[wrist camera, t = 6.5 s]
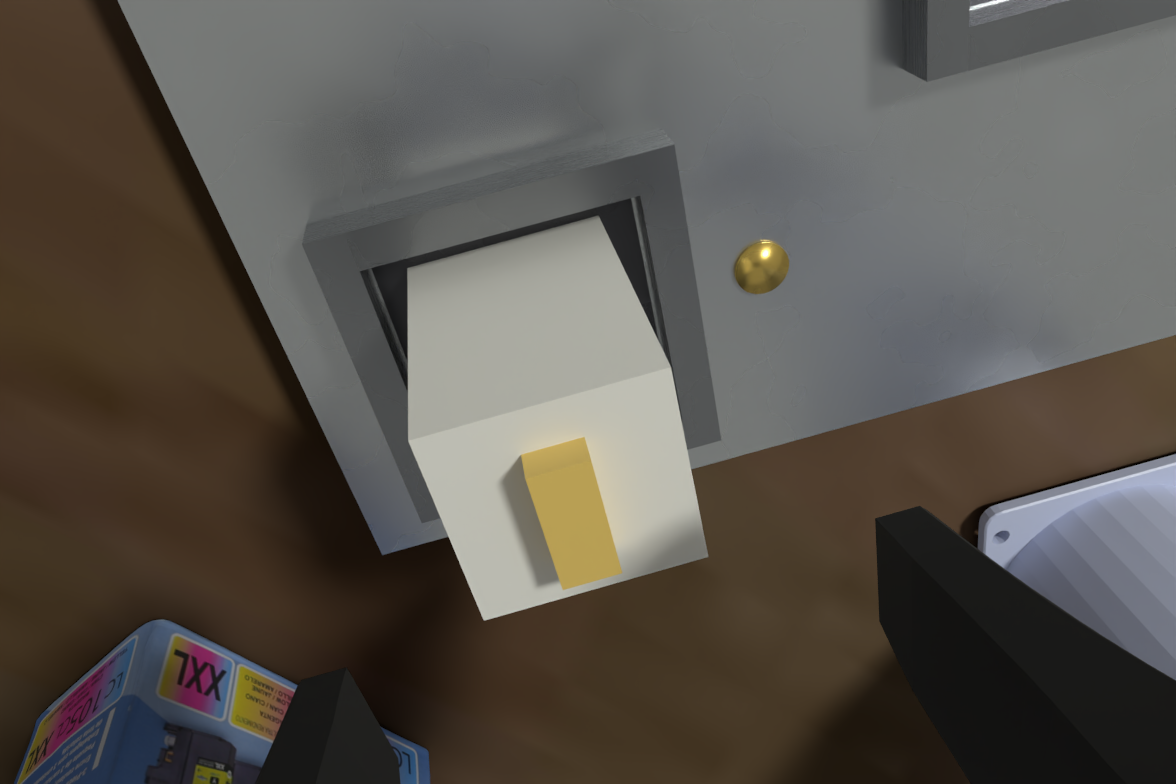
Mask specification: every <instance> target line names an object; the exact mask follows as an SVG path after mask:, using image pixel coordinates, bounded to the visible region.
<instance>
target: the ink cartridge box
mask: <svg viewBox="0 0 1176 784" xmlns="http://www.w3.org/2000/svg"><path fill="white" fill-rule="evenodd" d="M297 686H298V685H297V684H295V683H293V682H291V681H289V680H287V679H285V678H283V677H281V676H279V675H277V674H275V673H273V672H271V671H269V670H267V669H265V668H263V667H261V666H259V665H257V664H255V663H253V662H251V661H249V660H247V659H245V658H243V657H241V656H239V655H238V654H236V653H234V652H232V651H230V650H228V649H226V648H224V647H222V646H220V645H218V644H216V643H214V642H212V641H210V640H208V639H206V638H204V637H202V636H200V635H198V634H196V633H194V632H192V631H190V630H188V629H186V628H184V627H182V626H180V625H178V624H176V623H173V622H171V621H169V620H165V619H162V620H154V621H150V622H148V623H146V624H144V625H142V626H141V627H139V628H138V629H137V630H136V631H134V632H133V633H132V634H131V635H129V636H128V637H127V638H126V639H125V640H124V641H122V642H121V643H120V644H119V645H118V646H116V647H115V648H114V649H113V650H112V651H111V652H110V653H109V654H107V655H106V656H105V657H104V658H103V659H102V660H101V661H100V662H99V663H98V664H97V665H95V666H94V667H93V668H92V669H91V670H90V671H88V672H87V673H86V674H85V675H84V676H83V677H82V678H80V679H79V680H78V681H77V682H76V683H75V684H74V685H73V686H72V687H71V688H69V689H68V690H67V691H66V692H65V693H64V694H63V695H62V696H61V697H59V698H58V699H57V700H56V701H55V702H54V703H53V704H51V705H50V706H49V707H48V708H47V709H46V710H45V711H44V712H43V713H42V714H41V715H40V717H39V718H38V719H37V720H36V724H35V728H34V731H33V734H32V737H31V740H30V743H29V746H28V748H27V751H26V753H25V756H24V759H23V761H22V764H21V766H20V769H19V772H18V774H17V777H16V779H15V782H14V784H255V782H256V780H257V777H258V775H259V773H260V771H261V768H262V766H263V764H264V762H265V760H266V757H267V755H268V753H269V750H270V748H271V746H272V744H273V741H274V739H275V737H276V734H277V732H278V730H279V727H280V725H281V723H282V720H283V718H284V716H285V713H286V711H287V709H288V706H289V704H290V702H291V699H292V697H293V695H294V693H295V690H296V688H297ZM381 729H382V730H383V732H384V734H385V736H386V737H387V739H388V741H389V743H390V744H391V746H392V748H393V750H394V751H395V753H396V755H397V757H398V761H399V772H400V783H401V784H430V770H429V752H428V750H427V749H426V748H424V747H421V746H419V745H417V744H415V743H413V742H411V741H408V740H406V739H404V738H402V737H400V736H398V735H396V734H394V733H392V732H390V731H388V730H386V729H384V728H382V727H381Z"/></svg>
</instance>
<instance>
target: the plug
mask: <svg viewBox="0 0 1176 784" xmlns="http://www.w3.org/2000/svg"><path fill="white" fill-rule="evenodd" d="M407 280H408V442H409V444H410V446H411V449H412V451H413V454H414V456H415V458H416V461H417V463H418V465H419V468H420V470H421V473H422V475H423V477H424V480H425V482H426V484H427V487H428V489H429V492H430V494H431V496H432V499H433V501H434V503H435V506H436V508H437V511H438V513H439V515H440V518H441V520H442V522H443V525H444V527H445V530H446V532H447V534H448V537H449V539H450V541H451V544H452V546H453V549H454V551H455V553H456V556H457V558H458V560H459V563H460V565H461V568H462V570H463V572H464V575H465V577H466V579H467V582H468V584H469V587H470V589H471V591H472V594H473V596H474V598H475V601H476V603H477V606H478V608H479V610H480V613H481V615H482V617H483V620H484V621H485V620H488V619H492V618H495V617H499V616H502V615H506V614H509V613H513V612H516V611H520V610H523V609H527V608H530V607H534V606H537V605H541V604H544V603H548V602H551V601H555V600H558V599H562V598H565V597H569V596H572V595H576V594H579V593H583V592H586V591H590V590H594V589H597V588H601V587H604V586H608V585H611V584H615V583H618V582H622V581H625V580H629V579H632V578H636V577H639V576H643V575H646V574H650V573H653V572H657V571H660V570H664V569H667V568H671V567H674V566H678V565H681V564H685V563H688V562H692V561H695V560H699V559H702V558H706V557H708V553H707V548H706V543H705V538H704V533H703V528H702V523H701V518H700V512H699V507H698V502H697V497H696V492H695V487H694V482H693V477H692V472H691V467H690V462H689V456H688V451H687V446H686V441H685V436H684V431H683V426H682V421H681V416H680V411H679V405H678V400H677V395H676V390H675V385H674V380H673V375H672V370H671V366H670V364H669V362H668V360H667V358H666V356H665V354H664V351H663V349H662V347H661V345H660V343H659V341H658V339H657V337H656V335H655V333H654V331H653V328H652V326H651V324H650V322H649V320H648V318H647V316H646V314H645V312H644V310H643V308H642V305H641V303H640V301H639V299H638V297H637V295H636V293H635V291H634V289H633V287H632V285H631V282H630V280H629V278H628V276H627V274H626V272H625V270H624V268H623V266H622V264H621V261H620V259H619V257H618V255H617V253H616V251H615V249H614V247H613V245H612V243H611V241H610V238H609V236H608V234H607V232H606V230H605V228H604V226H603V224H602V222H601V220H600V218H599V215H598V216H594V217H591V218H587V219H584V220H580V221H576V222H573V223H569V224H565V225H562V226H558V227H555V228H551V229H547V230H544V231H540V232H536V233H533V234H529V235H526V236H522V237H518V238H515V239H511V240H507V241H504V242H500V243H497V244H493V245H489V246H486V247H482V248H478V249H475V250H471V251H468V252H464V253H460V254H457V255H453V256H449V257H446V258H442V259H439V260H435V261H431V262H428V263H424V264H420V265H417V266H413V267H410V268H407Z"/></svg>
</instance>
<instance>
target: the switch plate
mask: <svg viewBox="0 0 1176 784" xmlns="http://www.w3.org/2000/svg"><path fill="white" fill-rule="evenodd" d="M118 2H119V5H120V7H121V9H122V11H123V13H124V15H125V17H126V19H127V21H128V23H129V26H130V28H131V30H132V32H133V34H134V36H135V38H136V40H137V42H138V44H139V46H140V49H141V51H142V53H143V55H144V57H145V59H146V61H147V63H148V65H149V67H150V69H151V72H152V74H153V76H154V78H155V80H156V82H157V84H158V86H159V88H160V90H161V93H162V95H163V97H164V99H165V101H166V103H167V105H168V107H169V109H170V111H171V113H172V116H173V118H174V120H175V122H176V124H177V126H178V128H179V130H180V132H181V134H182V137H183V139H184V141H185V143H186V145H187V147H188V149H189V151H190V153H191V155H192V157H193V160H194V162H195V164H196V166H197V168H198V170H199V172H200V174H201V176H202V178H203V181H204V183H205V185H206V187H207V189H208V191H209V193H210V195H211V197H212V199H213V201H214V204H215V206H216V208H217V210H218V212H219V214H220V216H221V218H222V220H223V222H224V224H225V227H226V229H227V231H228V233H229V235H230V237H231V239H232V241H233V243H234V245H235V248H236V250H237V252H238V254H239V256H240V258H241V260H242V262H243V264H244V266H245V268H246V271H247V273H248V275H249V277H250V279H251V281H252V283H253V285H254V287H255V289H256V292H257V294H258V296H259V298H260V300H261V302H262V304H263V306H264V308H265V310H266V312H267V315H268V317H269V319H270V321H271V323H272V325H273V327H274V329H275V331H276V333H277V336H278V338H279V340H280V342H281V344H282V346H283V348H284V350H285V352H286V354H287V356H288V359H289V361H290V363H291V365H292V367H293V369H294V371H295V373H296V375H297V377H298V379H299V382H300V384H301V386H302V388H303V390H304V392H305V394H306V396H307V398H308V400H309V403H310V405H311V407H312V409H313V411H314V413H315V415H316V417H317V419H318V421H319V423H320V426H321V428H322V430H323V432H324V434H325V436H326V438H327V440H328V442H329V444H330V447H331V449H332V451H333V453H334V455H335V457H336V459H337V461H338V463H339V465H340V467H341V470H342V472H343V474H344V476H345V478H346V480H347V482H348V484H349V486H350V488H351V491H352V493H353V495H354V497H355V499H356V501H357V503H358V505H359V507H360V509H361V511H362V514H363V516H364V518H365V520H366V522H367V524H368V526H369V528H370V530H371V532H372V534H373V537H374V539H375V541H376V543H377V545H378V547H379V549H380V551H381V553H382V555H384V554H388V553H391V552H395V551H399V550H402V549H406V548H409V547H413V546H417V545H420V544H424V543H427V542H431V541H435V540H438V539H442V538H445V537H448V534H447V532H446V530H445V527H444V525H443V522H442V520H441V518H440V515H439V513H438V511H437V508H436V506H435V503H434V501H433V499H432V496H431V494H430V492H429V489H428V487H427V484H426V482H425V480H424V477H423V475H422V473H421V470H420V468H419V465H418V463H417V461H416V458H415V456H414V454H413V451H412V449H411V446H410V444H409V442H408V280H407V268H410V267H413V266H417V265H420V264H424V263H428V262H431V261H435V260H439V259H442V258H446V257H449V256H453V255H457V254H460V253H464V252H468V251H471V250H475V249H478V248H482V247H486V246H489V245H493V244H497V243H500V242H504V241H507V240H511V239H515V238H518V237H522V236H526V235H529V234H533V233H536V232H540V231H544V230H547V229H551V228H555V227H558V226H562V225H565V224H569V223H573V222H576V221H580V220H584V219H587V218H591V217H594V216H598V215H599V218H600V220H601V222H602V224H603V226H604V228H605V230H606V232H607V234H608V236H609V238H610V241H611V243H612V245H613V247H614V249H615V251H616V253H617V255H618V257H619V259H620V261H621V264H622V266H623V268H624V270H625V272H626V274H627V276H628V278H629V280H630V282H631V285H632V287H633V289H634V291H635V293H636V295H637V297H638V299H639V301H640V303H641V305H642V308H643V310H644V312H645V314H646V316H647V318H648V320H649V322H650V324H651V326H652V328H653V331H654V333H655V335H656V337H657V339H658V341H659V343H660V345H661V347H662V349H663V351H664V354H665V356H666V358H667V360H668V362H669V364H670V366H671V370H672V375H673V380H674V385H675V390H676V395H677V400H678V405H679V411H680V416H681V421H682V426H683V431H684V436H685V441H686V446H687V451H688V456H689V462H690V467H691V469H694V468H698V467H701V466H705V465H708V464H712V463H716V462H719V461H723V460H726V459H730V458H734V457H737V456H741V455H744V454H748V453H752V452H755V451H759V450H762V449H766V448H770V447H773V446H777V445H780V444H784V443H788V442H791V441H795V440H798V439H802V438H806V437H809V436H813V435H816V434H820V433H824V432H827V431H831V430H834V429H838V428H842V427H845V426H849V425H853V424H856V423H860V422H863V421H867V420H871V419H874V418H878V417H881V416H885V415H889V414H892V413H896V412H899V411H903V410H907V409H910V408H914V407H917V406H921V405H925V404H928V403H932V402H935V401H939V400H943V399H946V398H950V397H953V396H957V395H961V394H964V393H968V392H971V391H975V390H979V389H982V388H986V387H989V386H993V385H997V384H1000V383H1004V382H1007V381H1011V380H1015V379H1018V378H1022V377H1025V376H1029V375H1033V374H1036V373H1040V372H1043V371H1047V370H1051V369H1054V368H1058V367H1061V366H1065V365H1069V364H1072V363H1076V362H1079V361H1083V360H1087V359H1090V358H1094V357H1097V356H1101V355H1105V354H1108V353H1112V352H1115V351H1119V350H1123V349H1126V348H1130V347H1133V346H1137V345H1141V344H1144V343H1148V342H1151V341H1155V340H1159V339H1162V338H1166V337H1169V336H1173V335H1176V0H118Z"/></svg>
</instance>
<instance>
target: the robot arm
mask: <svg viewBox="0 0 1176 784" xmlns="http://www.w3.org/2000/svg"><path fill="white" fill-rule="evenodd" d="M875 521H876V546H877V570H878V595H879V620H880V623H881V625H882V627H883V630H884V632H885V634H886V636H887V638H888V640H889V642H890V645H891V647H892V649H893V651H894V653H895V655H896V657H897V659H898V661H899V664H900V666H901V668H902V670H903V672H904V674H905V676H906V678H907V680H908V682H909V684H910V686H911V688H912V690H913V692H914V693H915V695H916V697H917V698H918V700H919V701H920V703H921V705H922V706H923V708H924V710H925V711H926V713H927V714H928V716H929V718H930V719H931V721H932V722H933V724H934V726H935V727H936V729H937V730H938V732H939V734H940V735H941V737H942V738H943V740H944V742H945V743H946V745H947V746H948V748H949V750H950V751H951V753H952V754H953V756H954V758H955V759H956V761H957V762H958V764H959V765H960V767H961V769H962V770H963V772H964V773H965V775H966V777H967V778H968V780H969V781H970V783H971V784H1176V454H1174V455H1170V456H1167V457H1163V458H1160V459H1156V460H1152V461H1149V462H1145V463H1142V464H1138V465H1135V466H1131V467H1128V468H1124V469H1120V470H1117V471H1113V472H1110V473H1106V474H1103V475H1099V476H1096V477H1092V478H1088V479H1085V480H1081V481H1078V482H1074V483H1071V484H1067V485H1064V486H1060V487H1056V488H1053V489H1049V490H1046V491H1042V492H1039V493H1035V494H1032V495H1028V496H1024V497H1021V498H1017V499H1014V500H1010V501H1007V502H1003V503H1000V504H996V505H993V506H991V507H989V508H988V509H986V510H985V511H984V512H983V514H982V515H981V517H980V520H979V531H978V549H977V548H976V547H975V546H973V545H972V544H971V543H969V542H968V541H967V540H965V539H964V538H963V537H961V536H960V535H959V534H957V533H956V532H955V531H953V530H952V529H951V528H950V527H948V526H947V525H946V524H944V523H943V522H942V521H940V520H939V519H938V518H937V517H935V516H934V515H933V514H931V513H930V512H929V511H927V510H926V509H924V508H922V507H920V506H918V507H914V508H911V509H907V510H904V511H900V512H897V513H893V514H890V515H886V516H882V517H879V518H875ZM255 784H401V783H400V772H399V761H398V757H397V755H396V753H395V751H394V750H393V748H392V746H391V744H390V743H389V741H388V739H387V737H386V736H385V734H384V732H383V730H382V729H381V727H380V725H379V723H378V722H377V720H376V718H375V716H374V715H373V713H372V711H371V709H370V708H369V706H368V704H367V702H366V701H365V699H364V697H363V695H362V693H361V692H360V690H359V688H358V686H357V685H356V683H355V681H354V679H353V678H352V676H351V674H350V672H349V671H348V669H347V667H346V668H343V669H339V670H336V671H332V672H329V673H325V674H321V675H318V676H314V677H311V678H307V679H304V680H301V682H300V683H299V685H298V686H297V688H296V690H295V693H294V695H293V697H292V699H291V702H290V704H289V706H288V709H287V711H286V713H285V716H284V718H283V720H282V723H281V725H280V727H279V730H278V732H277V734H276V737H275V739H274V741H273V744H272V746H271V748H270V750H269V753H268V755H267V757H266V760H265V762H264V764H263V766H262V768H261V771H260V773H259V775H258V777H257V780H256V782H255Z"/></svg>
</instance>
